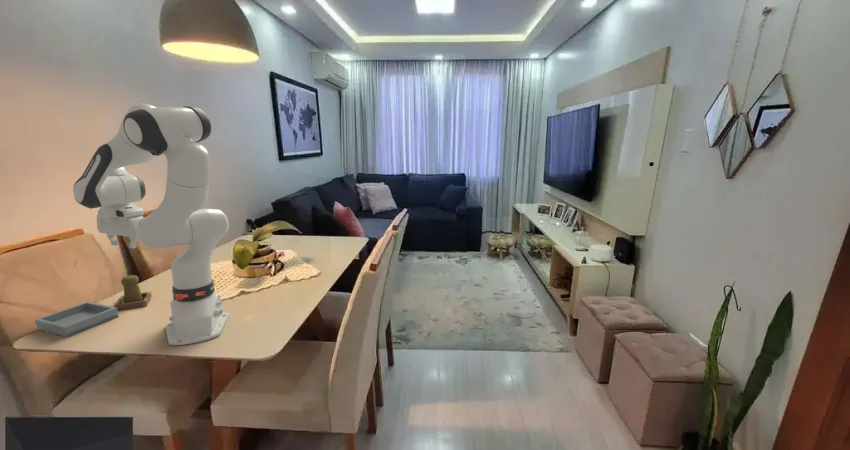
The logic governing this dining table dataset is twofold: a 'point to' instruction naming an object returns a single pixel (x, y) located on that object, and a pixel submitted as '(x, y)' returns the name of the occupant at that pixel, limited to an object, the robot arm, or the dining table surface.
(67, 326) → the tray
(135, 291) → the olive tapered knobbed cylinder
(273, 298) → the dining table surface
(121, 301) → the holder collar
